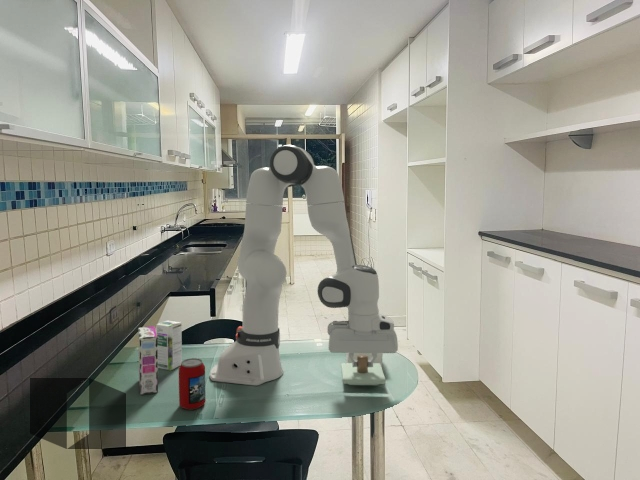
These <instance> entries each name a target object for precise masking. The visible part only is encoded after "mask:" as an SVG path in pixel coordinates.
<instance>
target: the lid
mask: <svg viewBox="0 0 640 480" xmlns="http://www.w3.org/2000/svg"><path fill="white" fill-rule="evenodd" d="M340 367H341V375H342V379H341V380H342V384H343V385H345V384H347V385H348V386H379V385H386V376H385V375H384V371H383V367H382V368H381V365H380V363H373V367H368V356H366V355H358V356H357V367H352V363H347V362H341V363H340Z"/></svg>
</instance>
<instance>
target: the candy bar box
mask: <svg viewBox="0 0 640 480" xmlns="http://www.w3.org/2000/svg"><path fill="white" fill-rule="evenodd" d="M137 330H138V334H137V335H138V338H137V339H138V341H137V342H138V378H139V380H138V381H139V392H140V394H139V395H141V396H144V395H149V394H150V395H151V394H157V393H158V392H159V368H158V345H157V328H156V326H155V325H154V326H153V325H152V326H144V327H138V329H137Z"/></svg>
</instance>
